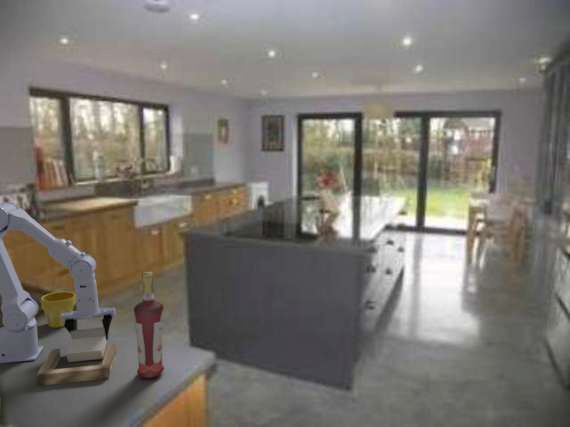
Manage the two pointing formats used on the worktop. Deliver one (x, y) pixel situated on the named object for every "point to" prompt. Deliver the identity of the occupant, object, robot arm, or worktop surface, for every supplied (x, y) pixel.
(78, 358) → the grey l-shaped bracket
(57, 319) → the plant pot
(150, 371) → the liquor
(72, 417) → the worktop surface
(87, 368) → the wooden u-shaped frame
